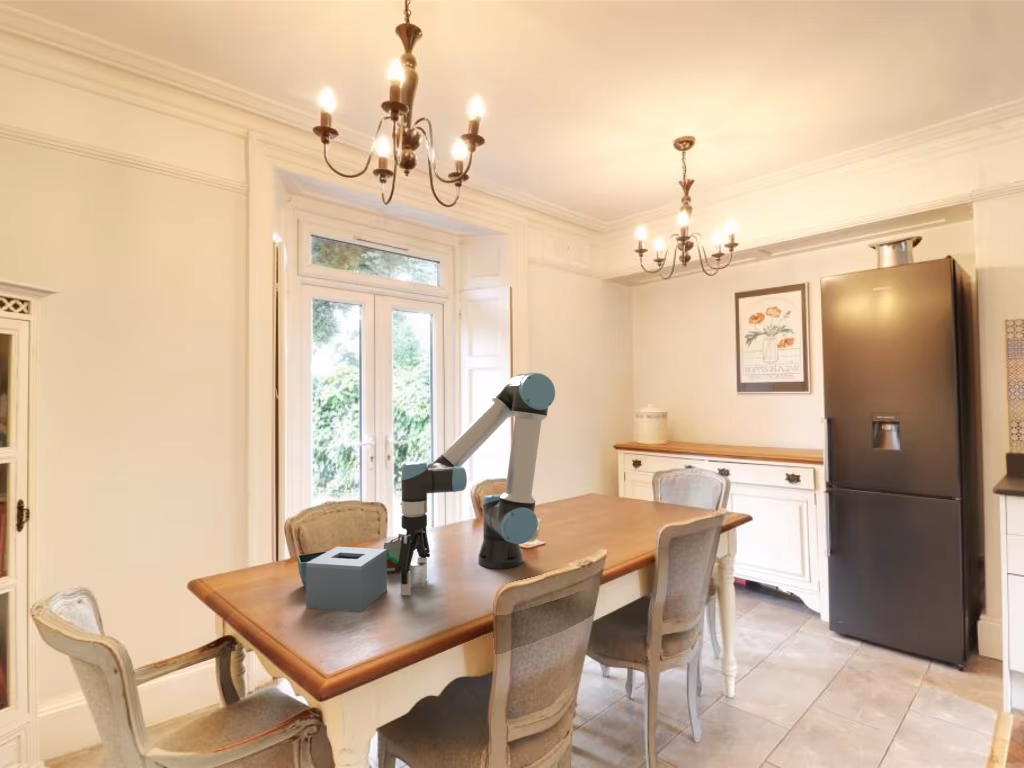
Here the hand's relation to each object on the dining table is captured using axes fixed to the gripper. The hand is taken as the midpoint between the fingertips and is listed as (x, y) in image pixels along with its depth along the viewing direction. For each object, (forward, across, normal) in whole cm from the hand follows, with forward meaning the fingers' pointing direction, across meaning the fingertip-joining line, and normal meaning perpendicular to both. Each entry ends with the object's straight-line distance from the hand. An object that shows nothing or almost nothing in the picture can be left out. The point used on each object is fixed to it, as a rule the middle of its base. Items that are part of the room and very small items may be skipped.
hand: (414, 586), depth 157 cm
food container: (0, -15, -11) cm, 19 cm away
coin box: (0, +12, -15) cm, 19 cm away
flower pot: (0, +5, -30) cm, 30 cm away
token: (0, 0, 0) cm, 0 cm away
